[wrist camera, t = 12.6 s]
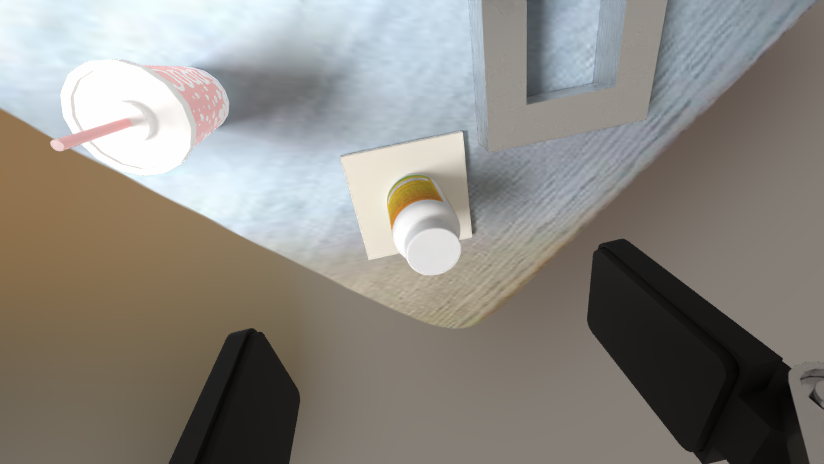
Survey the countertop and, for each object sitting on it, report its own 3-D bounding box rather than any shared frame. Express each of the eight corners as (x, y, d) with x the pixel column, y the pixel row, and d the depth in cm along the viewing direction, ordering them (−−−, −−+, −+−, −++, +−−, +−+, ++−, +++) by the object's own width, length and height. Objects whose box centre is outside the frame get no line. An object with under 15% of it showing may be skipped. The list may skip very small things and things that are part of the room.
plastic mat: (460, 130, 30) (462, 132, 30) (470, 234, 36) (472, 237, 35) (340, 155, 30) (340, 157, 29) (368, 256, 35) (368, 259, 35)
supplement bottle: (374, 204, 32) (380, 260, 23) (411, 160, 30) (431, 203, 22) (417, 233, 34) (436, 295, 25) (453, 194, 32) (486, 245, 24)
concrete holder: (650, -83, 25) (685, -99, 22) (622, 113, 31) (646, 119, 29) (465, -49, 24) (478, -61, 21) (478, 143, 31) (489, 152, 28)
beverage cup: (256, 105, 27) (173, 154, 15) (206, 154, 28) (90, 236, 16) (187, 35, 24) (12, 24, 12) (134, 93, 25) (-73, 135, 13)
